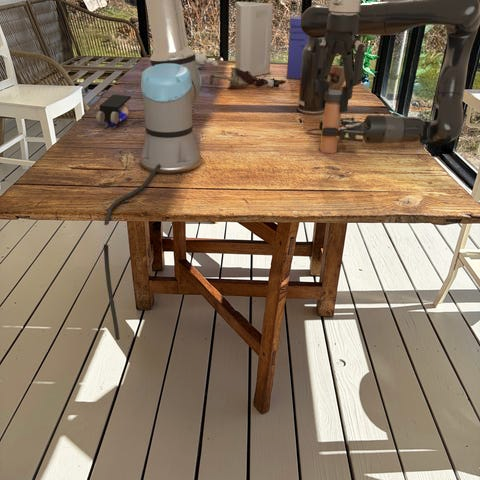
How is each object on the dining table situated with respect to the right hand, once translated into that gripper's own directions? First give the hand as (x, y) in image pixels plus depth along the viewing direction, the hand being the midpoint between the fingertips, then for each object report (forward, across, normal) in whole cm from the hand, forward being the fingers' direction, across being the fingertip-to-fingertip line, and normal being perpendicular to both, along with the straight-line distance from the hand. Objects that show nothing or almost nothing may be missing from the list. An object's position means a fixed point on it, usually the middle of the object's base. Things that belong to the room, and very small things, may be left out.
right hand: (321, 128), depth 130 cm
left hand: (-3, 0, -5) cm, 6 cm away
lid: (-3, 0, -10) cm, 10 cm away
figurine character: (+61, -21, +6) cm, 65 cm away
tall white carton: (+16, -99, +6) cm, 101 cm away
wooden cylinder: (-3, 0, +6) cm, 7 cm away
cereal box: (-7, -89, +6) cm, 90 cm away
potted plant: (-16, -71, +6) cm, 73 cm away
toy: (+47, -108, +6) cm, 118 cm away
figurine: (+19, -70, +6) cm, 72 cm away
